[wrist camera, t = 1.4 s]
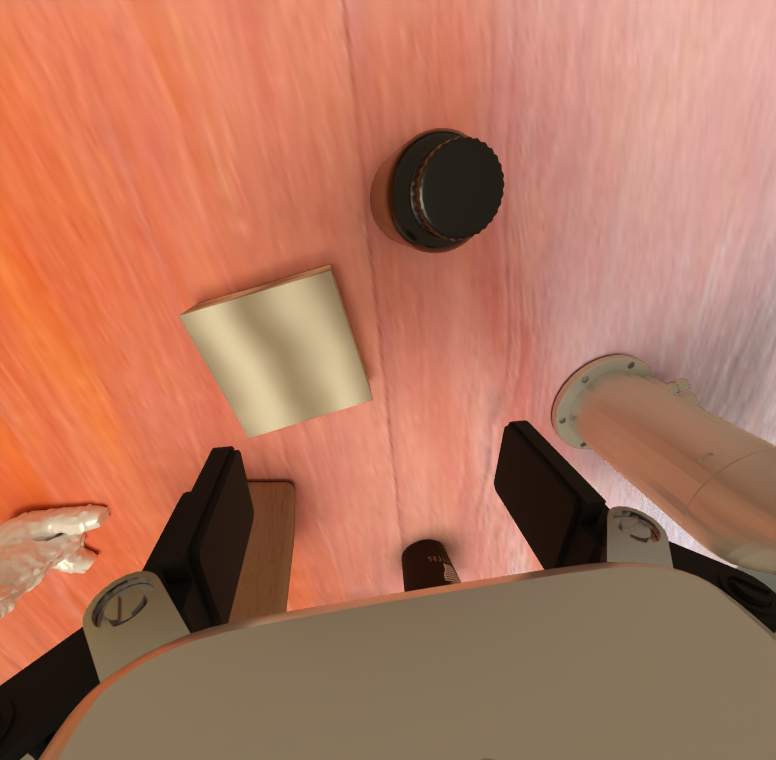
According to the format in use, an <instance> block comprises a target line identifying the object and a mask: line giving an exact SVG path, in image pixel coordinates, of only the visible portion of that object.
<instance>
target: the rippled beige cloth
mask: <svg viewBox="0 0 776 760" xmlns="http://www.w3.org/2000/svg"><path fill="white" fill-rule="evenodd" d="M179 318H180V319H181V321H182V323H183V325H184V326H185V328H186V330H187V332H188V333H189V335H190V337H191V339H192V340H193V342H194V344H195V346H196V347H197V349H198V351H199V353H200V354H201V356H202V358H203V359H204V361H205V363H206V365H207V366H208V368H209V370H210V372H211V373H212V375H213V377H214V379H215V380H216V382H217V384H218V386H219V387H220V389H221V391H222V393H223V394H224V396H225V398H226V400H227V401H228V403H229V405H230V406H231V408H232V410H233V412H234V413H235V415H236V417H237V419H238V420H239V422H240V424H241V426H242V427H243V429H244V431H245V433H246V434H247V436H248V438H251V437H254V436H258V435H261V434H264V433H267V432H271V431H274V430H277V429H280V428H284V427H287V426H290V425H293V424H296V423H300V422H303V421H306V420H309V419H313V418H316V417H319V416H322V415H326V414H329V413H332V412H335V411H338V410H342V409H345V408H348V407H351V406H355V405H358V404H361V403H364V402H368V401H371V400H373V397H372V393H371V389H370V385H369V381H368V378H367V375H366V372H365V369H364V366H363V362H362V359H361V356H360V353H359V350H358V347H357V344H356V341H355V338H354V335H353V332H352V329H351V326H350V323H349V319H348V316H347V313H346V310H345V307H344V304H343V301H342V298H341V295H340V292H339V289H338V286H337V283H336V280H335V277H334V273H333V270H332V267H331V264H329V265H326V266H323V267H319V268H316V269H313V270H309V271H306V272H303V273H299V274H296V275H292V276H289V277H286V278H282V279H279V280H276V281H272V282H269V283H266V284H262V285H259V286H255V287H252V288H249V289H245V290H242V291H239V292H235V293H232V294H229V295H225V296H222V297H219V298H215V299H212V300H208V301H205V302H202V303H198V304H196V305H195V306H193V307H192V308H190V309H188V310H187V311H185V312H184V313H182V314H181V315H179Z"/></svg>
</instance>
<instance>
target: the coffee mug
mask: <svg viewBox="0 0 776 760" xmlns="http://www.w3.org/2000/svg"><path fill="white" fill-rule="evenodd" d="M402 569H403V580H404V591H405V592H408V591H414V590H420V589H426V588H432V587H439V586H445V585H451V584H457V583H461V581H460V579H459V577H458V575H457V573H456V571H455V569H454V567H453V565H452V563H451V561H450V559H449V557H448V555H447V553H446V551H445V549H444V547H443V545H442V544H441V543H440V542H438V541H435V540H421V541H418V542H415V543H413V544H412V545H410V546H409V547H408V548H406V550H405V551H404V552H403V554H402Z"/></svg>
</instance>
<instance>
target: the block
mask: <svg viewBox="0 0 776 760" xmlns="http://www.w3.org/2000/svg"><path fill="white" fill-rule="evenodd" d="M247 483H248V487H249V491H250V495H251V500H252V504H253V509H254V520H253V524H252V528H251V532H250V536H249V541H248V545H247V549H246V553H245V557H244V561H243V565H242V569H241V573H240V577H239V582H238V586H237V590H236V594H235V598H234V602H233V606H232V610H231V614H230V618H229V622H228V623H232V622H236V621H240V620H245V619H251V618H256V617H261V616H267V615H272V614H278V613H283V612H286V609H287V600H288V591H289V581H290V572H291V563H292V554H293V545H294V520H295V490H294V487H293V485H292V484H291V483H288V482H247Z"/></svg>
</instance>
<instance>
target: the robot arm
mask: <svg viewBox="0 0 776 760" xmlns="http://www.w3.org/2000/svg"><path fill="white" fill-rule="evenodd" d="M689 388H690V384H689V382H688V381H687V380H685V379H679V380H676V381H673V382H670V383H669V384H665V383H663V382H661V381H659V380H657V379H655V378H654V376H653V373H652V371H651V370H650V368H649V367H648V366H647V365H646V364H645V363H644V362H642V361H640V360H638V359H636V358H633V357H630V356H627V355H612V356H606V357H603V358H600V359H597V360H595V361H593V362H591V363H589V364H587V365H586V366H584V367H583V368H581V369H580V370H579V371H577V372H576V373H575V374H574V375H573V376H572V377H571V378H570V379H569V380H568V381H567V382H566V384H565V385H564V386H563V388H562V389H561V391H560V392H559V394H558V396H557V398H556V401H555V403H554V406H553V411H552V423H553V428H554V430H555V432H556V434H557V435H558V436H559V437H560V438H561V439H562V440H563V441H564V442H565V443H567V444H568V445H570V446H572V447H574V448H579V449H593V450H594V451H595V452H596V453H597V454H598V455H599V456H601V457H602V458H603V459H604V460H605V461H606V462H607V463H609V464H610V465H611V466H612V467H613V468H614V469H615V470H617V471H618V472H619V473H620V474H621V475H622V476H623V477H624V478H626V479H627V480H628V481H629V482H630V483H631V484H632V485H634V486H635V487H636V488H637V489H638V490H639V491H640V492H642V493H643V494H644V495H645V496H646V497H647V498H648V499H649V500H651V501H652V502H653V503H654V504H655V505H656V506H657V507H659V508H660V509H661V510H662V511H663V512H664V513H665V514H667V515H668V516H669V517H670V518H671V519H672V520H673V521H675V522H676V523H677V524H678V525H679V526H680V527H681V528H682V529H684V530H685V531H686V532H687V533H688V534H689V535H690V536H692V537H693V538H694V539H695V540H696V541H697V542H698V543H700V544H701V545H702V546H703V547H705V548H706V549H707V550H708V551H710V552H711V553H713V554H715V555H716V556H718V557H719V558H721V559H723V560H725V561H727V562H729V563H731V564H734V565H737V566H739V567H742V568H745V569H749V570H753V571H757V572H761V573H766V574H771V575H776V446H774V445H773V444H771V443H769V442H767V441H765V440H763V439H761V438H759V437H757V436H755V435H753V434H751V433H749V432H747V431H745V430H743V429H741V428H739V427H737V426H735V425H733V424H731V423H730V422H728V421H726V420H724V419H722V418H720V417H718V416H716V415H714V414H712V413H710V412H708V411H706V410H704V409H702V408H700V407H698V406H697V405H698V399H697V397H696V396H695V395H694V394H693V393H691V392H685V393H681V394H678V395H675V393H679V392H682V391H685V390H688V389H689ZM494 486H495V490H496V492H497V493H498V495H499V497H500V498H501V500H502V502H503V503H504V505H505V506H506V508H507V510H508V511H509V513H510V515H511V516H512V518H513V519H514V521H515V523H516V524H517V526H518V528H519V529H520V531H521V532H522V534H523V536H524V537H525V539H526V541H527V542H528V544H529V545H530V547H531V549H532V550H533V552H534V554H535V555H536V557H537V558H538V560H539V562H540V563H541V565H542V567H543V568H544V570H540V571H534V572H528V573H521V574H515V575H508V576H502V577H495V578H489V579H483V580H476V581H470V582H464V583H457V584H451V585H445V586H439V587H432V588H426V589H420V590H414V591H408V592H402V593H395V594H389V595H383V596H377V597H371V598H365V599H359V600H353V601H347V602H341V603H335V604H329V605H323V606H317V607H311V608H305V609H299V610H294V611H289V612H283V613H278V614H272V615H267V616H261V617H256V618H251V619H245V620H240V621H236V622H232V623H228V622H229V618H230V614H231V610H232V606H233V602H234V598H235V594H236V590H237V586H238V582H239V577H240V573H241V569H242V565H243V561H244V557H245V553H246V549H247V545H248V541H249V536H250V532H251V528H252V524H253V520H254V509H253V504H252V500H251V495H250V491H249V487H248V483H247V478H246V474H245V470H244V465H243V461H242V457H241V453H240V451H239V450H234V448H233V447H232V446H229V447H218V448H213V449H212V451H211V453H210V455H209V457H208V459H207V461H206V463H205V465H204V467H203V469H202V471H201V473H200V475H199V477H198V479H197V481H196V483H195V485H194V487H193V489H192V491H190V492H185V493H184V494H183V495H182V496H181V498H180V500H179V502H178V503H177V505H176V507H175V509H174V511H173V513H172V515H171V517H170V519H169V521H168V523H167V524H166V526H165V528H164V530H163V532H162V534H161V536H160V538H159V540H158V542H157V544H156V545H155V547H154V549H153V551H152V553H151V555H150V557H149V559H148V561H147V563H146V565H145V566H144V568H143V570H142V571H139V572H134V573H131V574H128V575H125V576H123V577H121V578H119V579H117V580H115V581H114V582H112V583H111V584H109V585H108V586H107V587H105V588H104V589H103V590H102V591H101V592H100V593H99V594H98V595H97V596H96V597H95V598H94V599H93V600H92V602H91V603H90V605H89V606H88V607H87V609H86V612H85V614H84V617H83V627H82V628H81V629H79V630H78V631H76V632H75V633H73V634H72V635H71V636H69V637H68V638H66V639H65V640H64V641H62V642H61V643H59V644H58V645H57V646H55V647H54V648H52V649H51V650H50V651H48V652H47V653H45V654H44V655H43V656H41V657H40V658H38V659H37V660H36V661H34V662H33V663H31V664H30V665H29V666H27V667H26V668H24V669H23V670H22V671H20V672H19V673H17V674H16V675H15V676H13V677H12V678H10V679H9V680H8V681H6V682H5V683H3V684H2V685H1V686H0V760H776V593H775V592H773V591H772V590H771V589H770V588H769V587H768V586H766V585H765V584H764V583H762V582H761V581H759V580H758V579H756V578H754V577H753V576H751V575H748V574H747V573H744V572H743V571H740V570H738V569H735V568H733V567H730V566H728V565H726V564H723V563H721V562H718V561H716V560H713V559H711V558H709V557H706V556H704V555H701V554H699V553H696V552H694V551H692V550H689V549H687V548H684V547H682V546H679V545H677V544H675V543H672V542H670V541H668V537H667V534H666V532H665V530H664V529H663V528H662V526H661V525H660V524H659V523H658V522H657V521H655V520H654V519H653V518H652V517H650V516H648V515H647V514H645V513H643V512H641V511H638V510H636V509H633V508H629V507H622V506H618V507H613V508H612V509H609V508H608V507H607V506H606V505H605V502H606V501H605V500H604V499H603V498H602V497H601V496H600V494H599V493H598V492H597V491H596V490H595V489H594V488H593V487H592V486H591V485H590V484H589V483H588V482H587V481H586V480H585V479H584V478H583V477H582V476H581V475H580V474H579V473H578V472H577V471H576V470H575V469H574V468H573V467H572V466H571V465H570V464H569V463H568V462H567V461H566V460H565V459H564V458H563V457H562V456H561V455H560V454H559V453H558V452H557V451H556V450H555V449H554V448H553V447H552V446H551V445H550V443H549V442H548V441H547V440H546V439H545V438H544V437H543V436H542V435H541V434H540V433H539V432H538V431H537V430H536V429H535V428H534V427H533V426H532V425H531V424H530V423H529V422H528V421H525V420H524V421H513V422H510V423H509V424H508V426H506V427H505V428H504V433H503V438H502V443H501V448H500V453H499V458H498V464H497V469H496V474H495V479H494Z"/></svg>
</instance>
